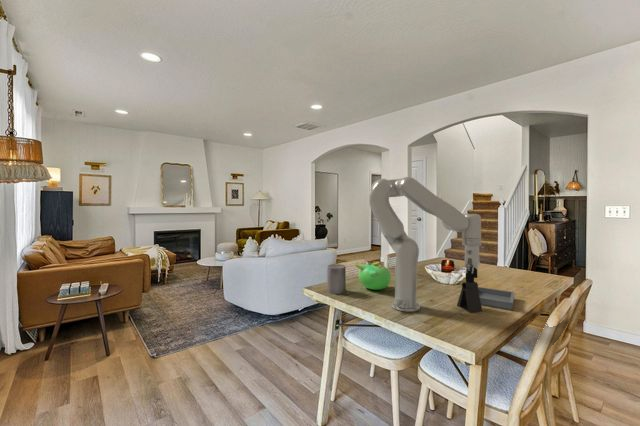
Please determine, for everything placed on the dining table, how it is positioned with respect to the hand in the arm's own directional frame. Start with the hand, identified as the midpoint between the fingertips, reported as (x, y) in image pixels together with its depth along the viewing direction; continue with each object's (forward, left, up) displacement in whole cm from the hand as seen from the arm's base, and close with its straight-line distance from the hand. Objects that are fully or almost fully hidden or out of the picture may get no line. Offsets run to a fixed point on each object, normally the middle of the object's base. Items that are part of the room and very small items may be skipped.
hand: (471, 279), depth 135 cm
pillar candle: (-13, +63, -13) cm, 65 cm away
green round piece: (+3, +49, -13) cm, 50 cm away
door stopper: (0, +1, -13) cm, 13 cm away
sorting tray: (+18, -6, -13) cm, 23 cm away
